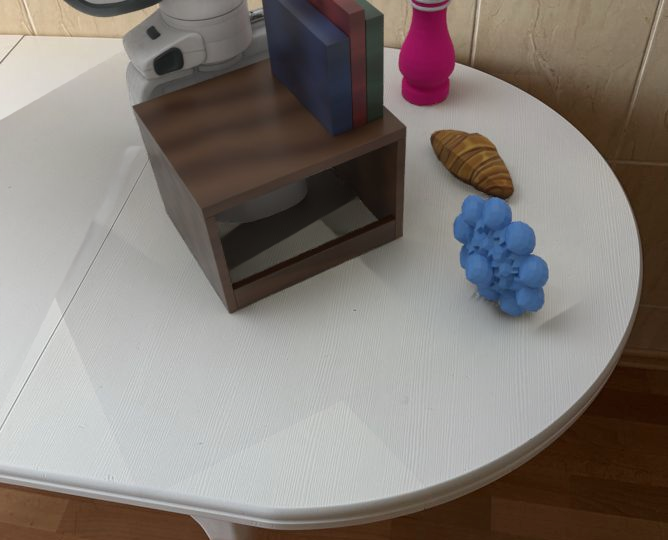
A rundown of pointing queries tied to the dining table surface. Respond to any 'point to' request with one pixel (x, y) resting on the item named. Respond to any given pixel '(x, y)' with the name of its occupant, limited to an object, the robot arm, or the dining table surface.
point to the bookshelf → (283, 139)
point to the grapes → (500, 255)
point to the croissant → (473, 161)
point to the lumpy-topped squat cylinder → (265, 204)
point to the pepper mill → (427, 54)
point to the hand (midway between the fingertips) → (231, 137)
